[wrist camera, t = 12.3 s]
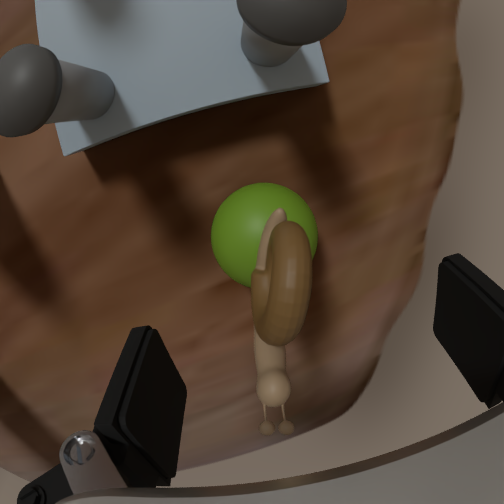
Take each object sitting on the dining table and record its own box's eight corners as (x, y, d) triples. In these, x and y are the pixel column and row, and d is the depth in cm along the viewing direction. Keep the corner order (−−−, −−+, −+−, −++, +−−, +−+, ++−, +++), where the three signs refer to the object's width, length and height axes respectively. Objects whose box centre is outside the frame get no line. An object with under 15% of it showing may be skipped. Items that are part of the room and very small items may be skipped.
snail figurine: (211, 273, 20) (194, 436, 9) (217, 171, 18) (191, 261, 7) (295, 278, 21) (350, 433, 10) (311, 179, 18) (417, 274, 7)
